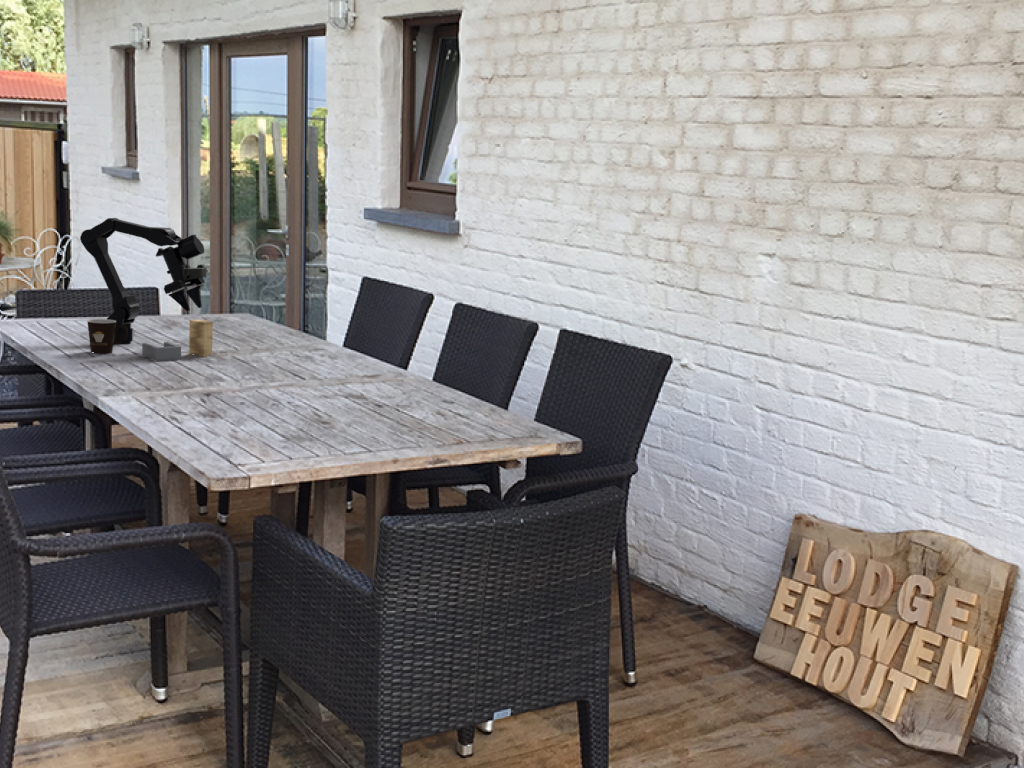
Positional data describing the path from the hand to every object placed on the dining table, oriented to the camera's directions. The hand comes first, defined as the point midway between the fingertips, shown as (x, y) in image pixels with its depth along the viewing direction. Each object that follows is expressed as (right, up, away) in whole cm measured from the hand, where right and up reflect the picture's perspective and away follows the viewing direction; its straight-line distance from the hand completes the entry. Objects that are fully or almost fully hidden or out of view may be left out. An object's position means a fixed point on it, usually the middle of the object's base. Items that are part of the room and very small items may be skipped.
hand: (194, 309), depth 396 cm
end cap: (-6, -16, -16) cm, 24 cm away
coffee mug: (-24, -15, -15) cm, 32 cm away
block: (+4, -15, -7) cm, 17 cm away
